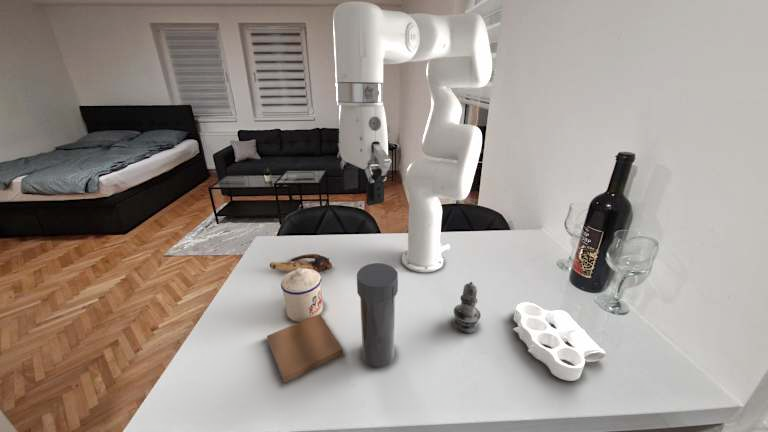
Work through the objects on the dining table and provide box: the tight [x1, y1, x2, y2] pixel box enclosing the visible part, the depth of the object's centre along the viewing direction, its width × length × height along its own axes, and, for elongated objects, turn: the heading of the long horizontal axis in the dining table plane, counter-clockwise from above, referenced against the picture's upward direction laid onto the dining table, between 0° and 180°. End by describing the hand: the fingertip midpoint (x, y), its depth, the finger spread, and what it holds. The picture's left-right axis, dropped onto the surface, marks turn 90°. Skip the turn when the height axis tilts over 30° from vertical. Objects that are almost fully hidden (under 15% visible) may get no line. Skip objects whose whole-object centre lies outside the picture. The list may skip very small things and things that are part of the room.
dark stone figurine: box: [453, 281, 482, 335], centre depth 67 cm, size 6×6×12 cm
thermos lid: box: [356, 262, 399, 303], centre depth 54 cm, size 7×7×4 cm
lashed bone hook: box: [269, 253, 333, 273], centre depth 90 cm, size 9×5×18 cm
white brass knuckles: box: [512, 302, 607, 382], centre depth 64 cm, size 3×18×15 cm
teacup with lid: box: [280, 268, 324, 323], centre depth 73 cm, size 12×9×12 cm
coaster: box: [266, 313, 344, 384], centre depth 63 cm, size 12×12×2 cm
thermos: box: [359, 296, 396, 369], centre depth 58 cm, size 6×6×19 cm
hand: (362, 195), depth 56 cm, fingers open, 9 cm apart
